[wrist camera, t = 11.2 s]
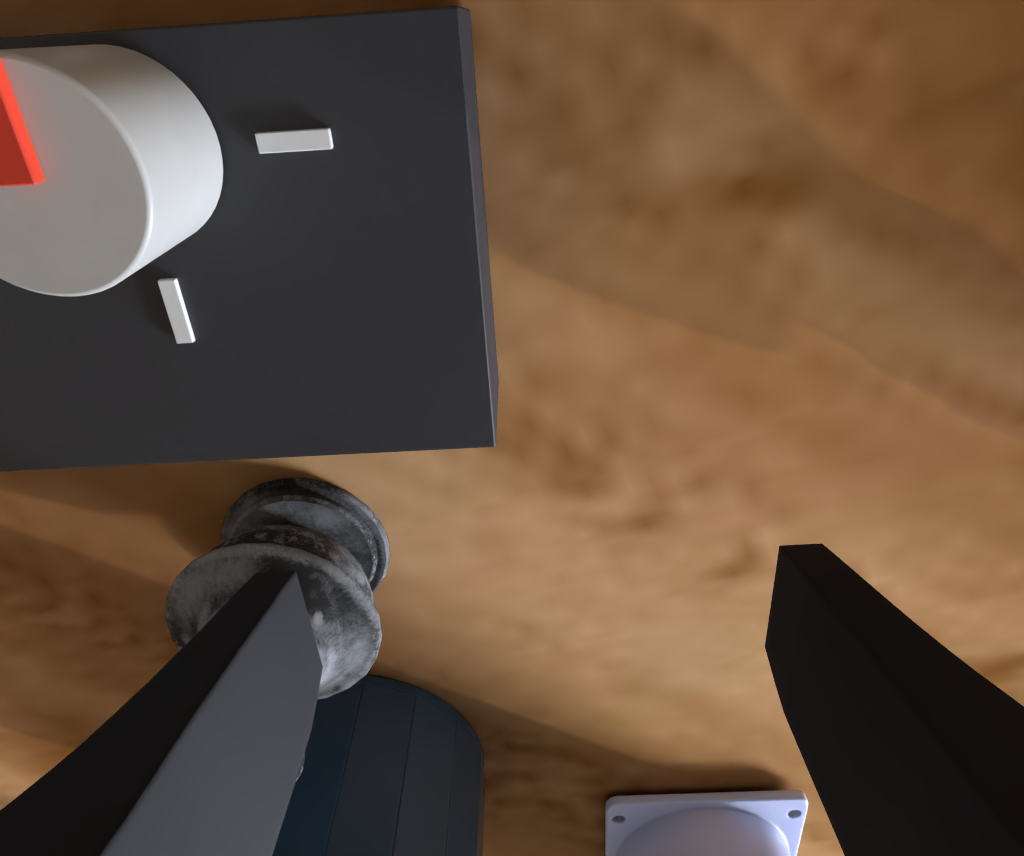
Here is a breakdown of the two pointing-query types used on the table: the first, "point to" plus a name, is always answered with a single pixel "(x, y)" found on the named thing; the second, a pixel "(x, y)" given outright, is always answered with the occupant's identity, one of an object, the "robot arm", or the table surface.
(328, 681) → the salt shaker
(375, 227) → the console
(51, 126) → the console knob
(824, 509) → the table surface
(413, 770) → the pot
